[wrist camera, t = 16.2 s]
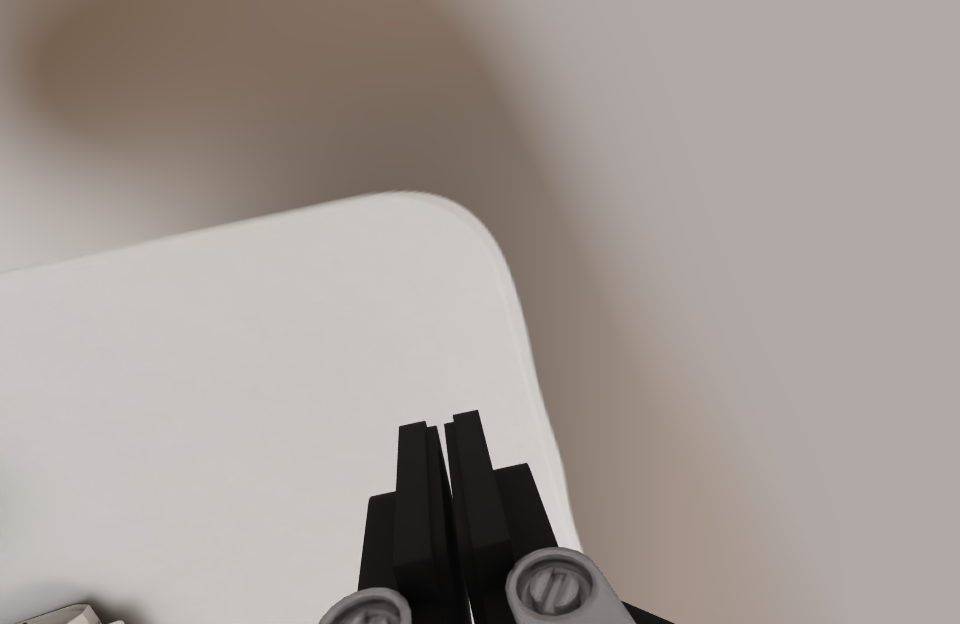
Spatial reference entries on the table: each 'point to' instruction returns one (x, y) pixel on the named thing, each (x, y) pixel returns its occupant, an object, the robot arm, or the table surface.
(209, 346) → the table surface
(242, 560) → the table surface
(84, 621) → the newspaper
